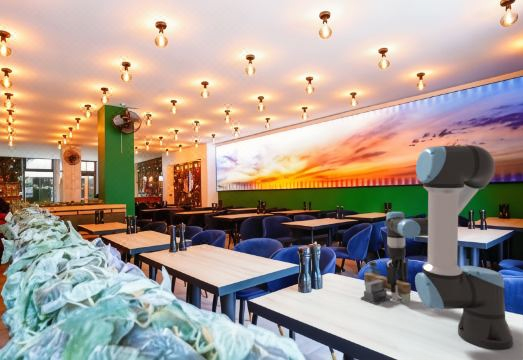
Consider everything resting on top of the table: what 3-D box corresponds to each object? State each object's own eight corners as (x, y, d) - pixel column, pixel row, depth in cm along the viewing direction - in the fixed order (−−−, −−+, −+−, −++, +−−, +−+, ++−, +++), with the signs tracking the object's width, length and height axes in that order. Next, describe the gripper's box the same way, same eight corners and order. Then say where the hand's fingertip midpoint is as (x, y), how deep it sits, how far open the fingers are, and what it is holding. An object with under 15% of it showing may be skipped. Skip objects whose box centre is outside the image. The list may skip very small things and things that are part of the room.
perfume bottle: (364, 284, 165) (363, 261, 165) (374, 283, 167) (373, 260, 167) (372, 288, 159) (371, 264, 159) (382, 286, 161) (381, 263, 161)
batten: (410, 292, 140) (410, 283, 140) (405, 294, 138) (405, 285, 138) (369, 280, 159) (369, 272, 159) (364, 282, 157) (364, 274, 157)
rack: (410, 302, 140) (410, 293, 140) (406, 303, 138) (405, 294, 138) (369, 288, 159) (369, 280, 159) (365, 290, 157) (365, 282, 157)
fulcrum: (390, 299, 143) (389, 282, 144) (375, 304, 138) (374, 286, 138) (375, 294, 150) (374, 277, 150) (360, 299, 145) (360, 281, 145)
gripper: (400, 242, 151) (402, 292, 151) (376, 247, 142) (378, 300, 142) (415, 245, 145) (417, 296, 145) (391, 250, 136) (393, 305, 136)
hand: (398, 298), depth 143 cm, fingers closed on batten, 4 cm apart
